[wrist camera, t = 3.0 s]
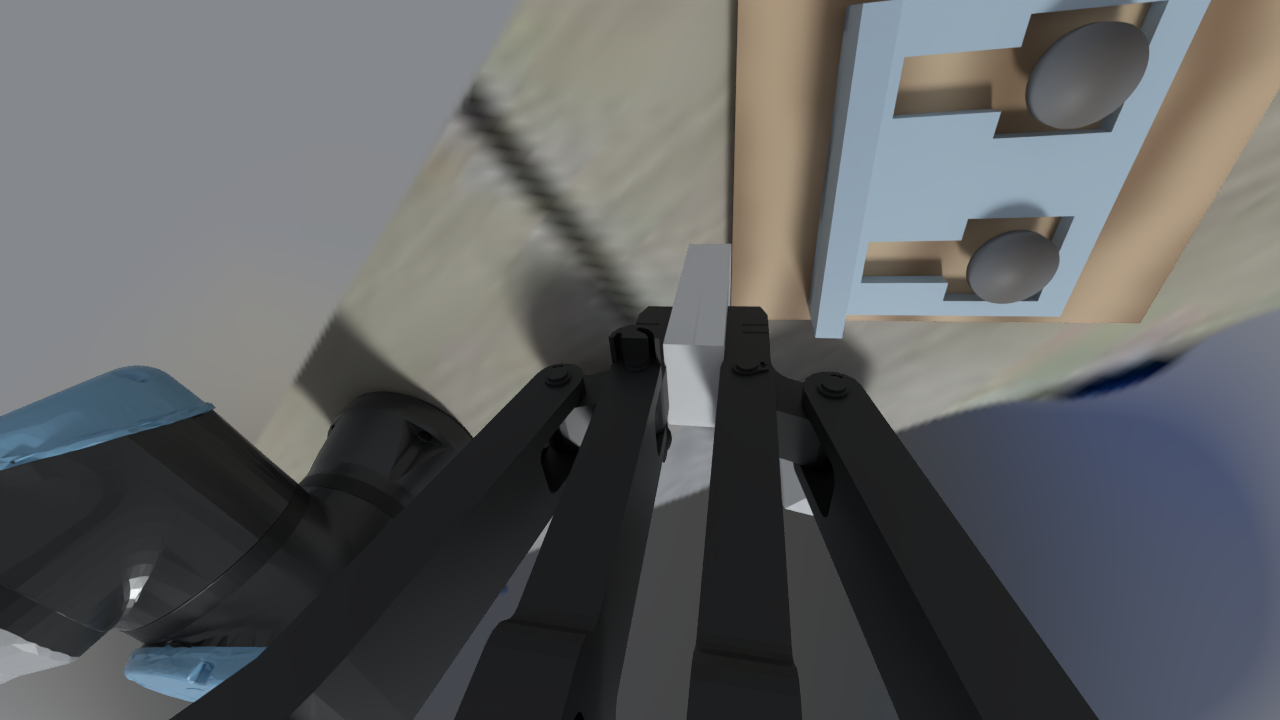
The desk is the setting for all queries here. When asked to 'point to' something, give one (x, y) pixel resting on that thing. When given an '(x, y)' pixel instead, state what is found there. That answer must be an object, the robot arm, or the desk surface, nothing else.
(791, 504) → the die
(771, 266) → the board
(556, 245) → the desk surface
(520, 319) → the desk surface
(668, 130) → the desk surface
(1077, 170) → the panel
